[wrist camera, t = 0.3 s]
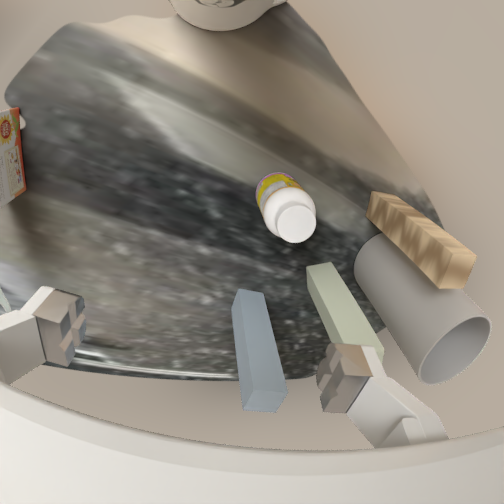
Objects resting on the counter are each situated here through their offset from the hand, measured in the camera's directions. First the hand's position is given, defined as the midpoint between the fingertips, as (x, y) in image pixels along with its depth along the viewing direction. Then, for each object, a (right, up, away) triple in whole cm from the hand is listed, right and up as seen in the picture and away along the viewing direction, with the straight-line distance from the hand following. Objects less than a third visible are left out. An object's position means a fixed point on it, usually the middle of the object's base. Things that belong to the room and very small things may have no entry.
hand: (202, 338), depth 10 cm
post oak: (+23, +11, +41) cm, 49 cm away
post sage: (+13, -1, +46) cm, 48 cm away
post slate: (+1, -6, +47) cm, 48 cm away
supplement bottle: (+5, +12, +39) cm, 41 cm away
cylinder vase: (+26, +1, +47) cm, 54 cm away
